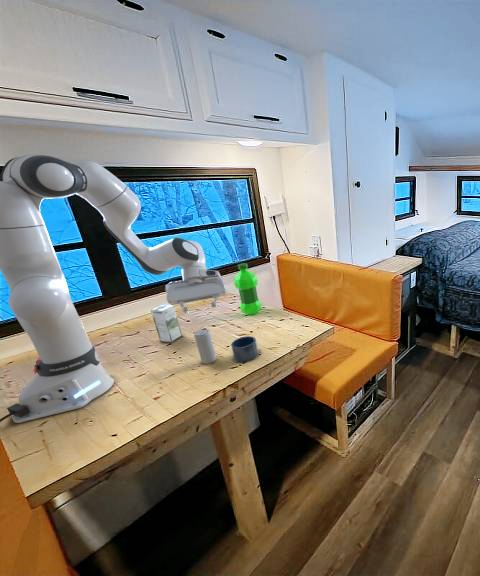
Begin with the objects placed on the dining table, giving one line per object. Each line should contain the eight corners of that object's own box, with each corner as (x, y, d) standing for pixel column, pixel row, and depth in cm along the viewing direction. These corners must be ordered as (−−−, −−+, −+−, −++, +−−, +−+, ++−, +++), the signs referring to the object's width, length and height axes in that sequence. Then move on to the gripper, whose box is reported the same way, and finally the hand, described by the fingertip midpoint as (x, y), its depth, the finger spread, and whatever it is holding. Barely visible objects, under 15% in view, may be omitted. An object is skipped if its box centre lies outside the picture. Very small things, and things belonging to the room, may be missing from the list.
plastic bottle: (266, 308, 156) (258, 261, 147) (255, 317, 146) (245, 267, 137) (249, 307, 157) (239, 261, 149) (236, 316, 148) (225, 267, 139)
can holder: (236, 364, 109) (233, 350, 107) (232, 354, 116) (229, 340, 114) (260, 357, 114) (258, 343, 112) (255, 347, 120) (252, 334, 118)
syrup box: (171, 334, 132) (162, 304, 127) (183, 335, 131) (173, 305, 126) (160, 341, 127) (149, 309, 122) (171, 342, 126) (161, 310, 121)
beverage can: (210, 365, 110) (202, 336, 106) (198, 363, 111) (190, 335, 106) (219, 357, 114) (212, 329, 110) (208, 356, 115) (200, 328, 111)
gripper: (162, 279, 114) (165, 312, 109) (222, 270, 122) (228, 300, 118) (167, 286, 119) (170, 318, 115) (224, 277, 128) (230, 307, 123)
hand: (200, 309), depth 116 cm, fingers open, 8 cm apart
